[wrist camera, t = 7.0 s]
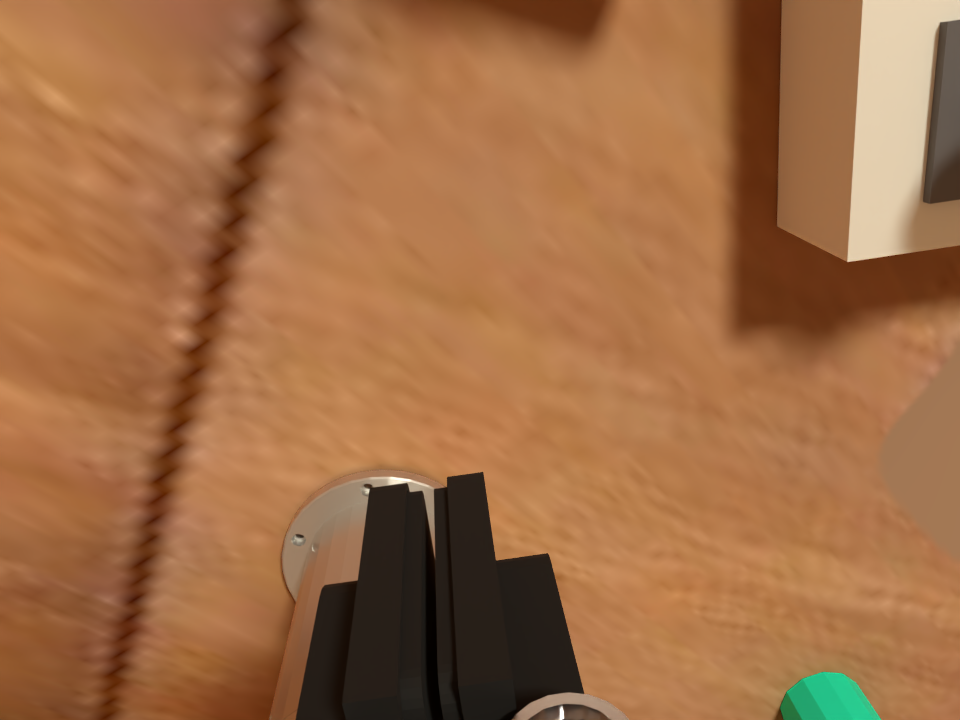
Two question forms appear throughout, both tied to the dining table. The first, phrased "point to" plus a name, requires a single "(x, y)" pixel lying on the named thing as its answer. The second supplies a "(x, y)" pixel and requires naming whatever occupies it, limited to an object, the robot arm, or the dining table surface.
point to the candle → (827, 699)
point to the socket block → (870, 125)
